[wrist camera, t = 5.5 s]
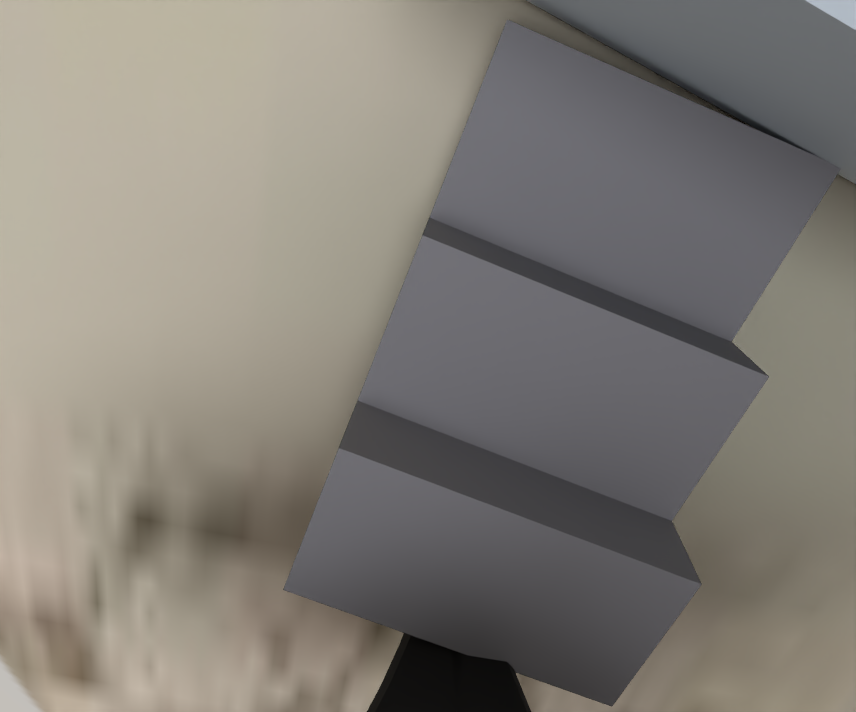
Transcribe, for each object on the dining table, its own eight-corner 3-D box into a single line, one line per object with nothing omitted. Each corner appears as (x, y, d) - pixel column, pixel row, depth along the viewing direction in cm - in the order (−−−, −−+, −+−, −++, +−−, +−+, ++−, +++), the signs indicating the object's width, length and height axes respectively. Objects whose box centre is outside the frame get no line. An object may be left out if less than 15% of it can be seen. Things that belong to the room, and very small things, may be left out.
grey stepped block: (796, 159, 9) (989, 192, 6) (572, 531, 11) (612, 706, 8) (503, 30, 9) (521, -17, 5) (340, 443, 11) (282, 590, 8)
